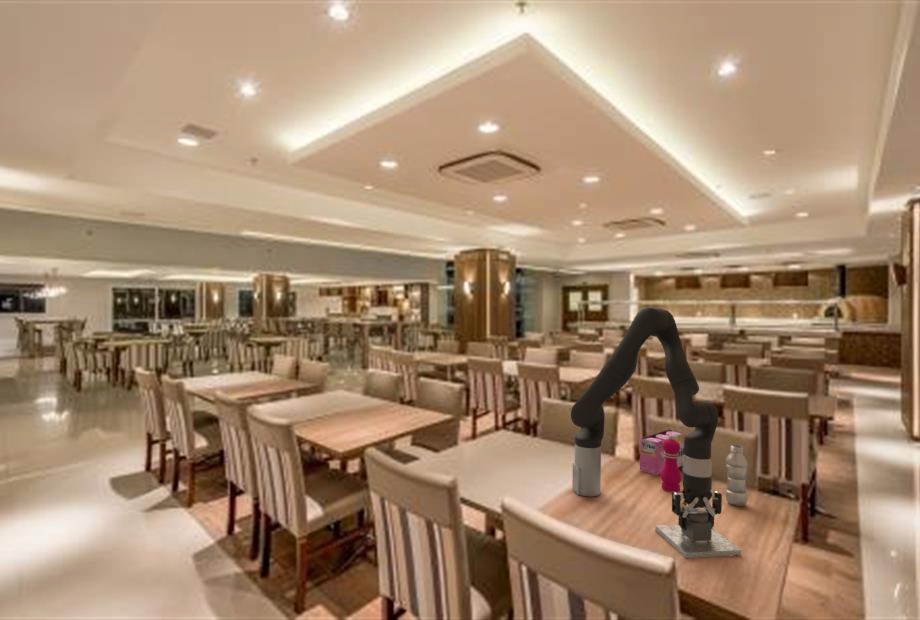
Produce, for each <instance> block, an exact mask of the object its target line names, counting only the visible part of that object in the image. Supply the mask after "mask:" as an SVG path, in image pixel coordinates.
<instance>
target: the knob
mask: <svg viewBox="0 0 920 620" xmlns="http://www.w3.org/2000/svg"><path fill="white" fill-rule="evenodd" d="M686 518H687V530H683V529H681V532H682V533H683V534H685V535H686V536H687V537H688V538H689V539H691V540H692V541H709V540H711V537H712V523H711V522H710V521H709V520H708V513H707V512H706V510H705V509H702V508H693V509H692V510H691V512H689V513H688V514H687V516H686Z"/></svg>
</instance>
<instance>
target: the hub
mask: <svg viewBox="0 0 920 620" xmlns="http://www.w3.org/2000/svg"><path fill="white" fill-rule="evenodd" d="M654 528H655V530H654V531H655V532H656V533H657V534H659V536H661V537H662V538H663V539H664V540H666V541H665V542H668V543H669V544H670V545H671V546H672V547H673V548H674V549H675V550H676V551H677V552H678V553H679V554H680V555H682V556H683V557H684V559H699V558H698V557H703V558H717V557H716V556H722V557H731V556H730V555H741V556H742V549H741V548H739V547H738V546H736V545H735V544H734V543H733V542H732V541H730V540H728V539H727V538H726V537H725V536H723V535H722V534H720V533H719V532H718V531H716V530H715V529H714V528H713V529H712V537H711V540H709V541H692V540H691V539H689V538H688V537H687V536H686V535H685V534H683V533H682V532H681V528H680V526H679V524H678V523H677V524H658V525H657V524H656V525H655V526H654Z"/></svg>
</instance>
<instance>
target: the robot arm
mask: <svg viewBox="0 0 920 620" xmlns="http://www.w3.org/2000/svg"><path fill="white" fill-rule="evenodd" d="M649 337H654V338H655V337H656V338H657V339H658V341H659V342H660V344H661V346H662V348H663V351H664V356H665V357H664V360H665V361H664V369H665V374H666V377H667V379H668V382H669V384H670V386H671V388H672V391H673V393H674V394H673V395H674V400H675V406H676V407H675V408H676V414H677V417H678V419H679V420H680V422H681V424H682V425H684V426H685V427H687V428H694V430H693V431H692V432H690V433H688V434H686V435H685V438H684V458H683V466H682V488H683V489H682V491H681V492H671V512H673V513H674V514H675V515H676V516H678V523H677V524H679V526H680V528H681V529H683V530H687V518H686V516H687V514H688V513H689V512H691V510H692V509H693V508H696V509H703V508H704V509H703V510H706V512H707V513H708V520H709V521H710V522H711V523H712V529H714V526H715V516H716V515H721V514H722V505H723V504H722V502H723V501H722V500H723V498H722V497H723V495H722V493H721V492H719V491H718V490H715V489H714V490H712V488H713V486H712V483H713V463H712V444H713V443H712V442H713V439H714V436H715V434H716V430H717V427H718V422H719V413H718V409H717V407H716V406H715V404H713V403H712V402H710V401H702V400H701V401H693V396H695V395H697V394H698V393H699V392H700V385H699V383H698V381H697V380H696V376H695V375H694V372H693V371H692V368H691V366H690V364H689V363H688V359H687V357H686V354H685V350H684V348H683V344H682V341H681V337H680V333H679V330H678V326H677V323H676V320H675V318H674V315H673V314H672V312H670V311H669V310H667V309H665V308H664V309H663V308H660V307H655V306H645V307H643V308H641V309H640V310H639V311H638V312H637V313H636V315H635V317H634V319H633V320H632V321H631V323H630V326H628V329H627V330H626V332H625V334H624V336H623V338H622V339H621V341H620V343H619V344H618V345H617V347H616V348H615V350H614V351H613V353H612V354H611V355H610V357H609V358H608V359H607V360H606V362H605V363H604V365H603V367H602V368H601V370H600V371H599V372H598V374H597V375H596V377H595V378H594V379H593V381H592V382H591V384H590V385H589V387H588V388H587V389H586V391H585V392H584V393H583V394H582V395H581V396H580V397H579V398H578V400H577V401H576V402H575V403H574V404H573V405H572V407H571V410H570V419H571V421H572V423H573V424H574V425H575V426H576V427H579V428H580V429H579V431H578V433H577V434H576V435H575V436H574V463H572V482H571V483H572V490H573V491H574V493H575V494H576V495H577V496H583V497H598V496H600V495H601V492H602V491H601V488H602V485H601V484H602V481H601V480H602V477H601V476H602V475H601V474H602V471H601V470H602V442H603V438H604V433H605V432H604V431H605V415H606V414H605V409H604V407H603V404H604V403H605V402H606V401H608V400H609V399H610V398H611V397H612V396H614V395H616V393H618V392H619V391H620V390H621V389H622V388H624V386H625V385H626V384H627V383H628V381H629V380H630V379H631V377H632V376H633V375H634V374H635V372H636V369H637V366H638V356H639V351H640V349H641V348H642V346H643V345H644V344H645V342H646V341H647V340H648V339H649ZM711 498H712V501H711V503H710V502H709V501H710V500H711Z"/></svg>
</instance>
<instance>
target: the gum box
mask: <svg viewBox="0 0 920 620" xmlns="http://www.w3.org/2000/svg"><path fill="white" fill-rule="evenodd" d="M670 435H673V436H674V440H676V441H677V442H678V443H679V444H680V450H679V452H678V454H679V455H678V456H679V457H678V458H677V466H678V468H680V467H683V458H684V438H685V436H686V435H685V432H682V433H680V432H676V431H673V430H672V429H666V430H663V431H659V432H656V433H653V434H650V435H647V436H643V437H640V439H639V471H640V470H642V471H641V472H643V471H644V473H646V472H648V473H647V474H649V473H651V474H650V475H653V474H654V475H653V476H656V475H657V476H660V475H661V471H662V469H663V467H664V465H665V456H664V451H665V450H664V449H663V446H662V445H663V442H664V441H665V440H667V439H669V436H670ZM659 474H660V475H659Z"/></svg>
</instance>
